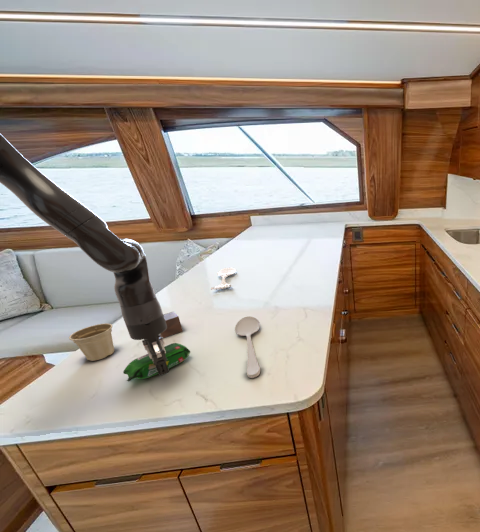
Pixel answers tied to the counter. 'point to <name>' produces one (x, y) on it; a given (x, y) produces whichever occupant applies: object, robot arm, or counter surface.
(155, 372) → the snack package
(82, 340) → the flower pot
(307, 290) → the counter surface
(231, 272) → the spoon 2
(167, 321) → the walnut block
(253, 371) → the spoon
